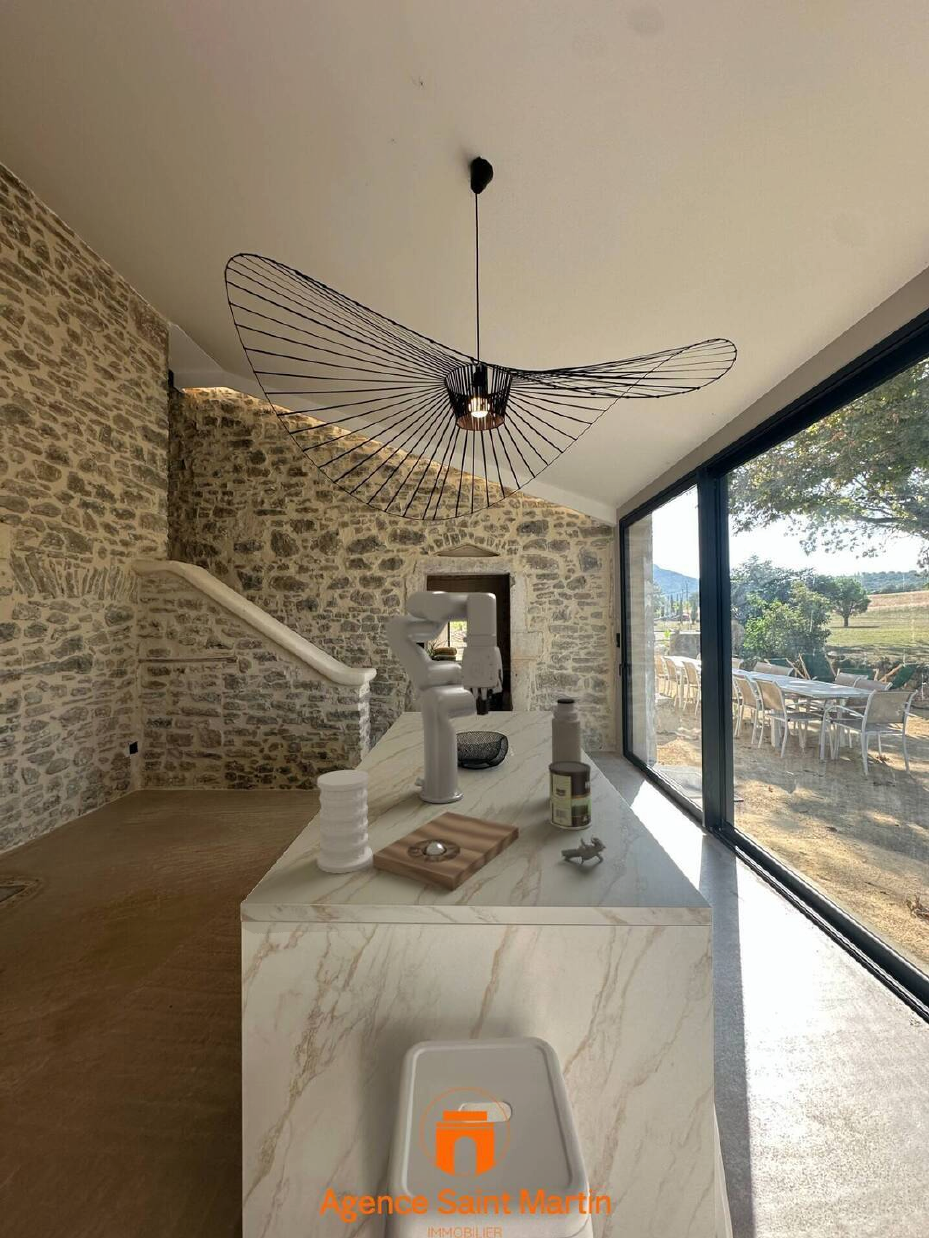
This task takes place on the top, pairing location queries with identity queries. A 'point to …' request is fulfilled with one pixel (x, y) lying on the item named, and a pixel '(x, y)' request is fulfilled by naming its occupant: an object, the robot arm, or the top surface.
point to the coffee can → (570, 795)
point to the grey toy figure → (586, 850)
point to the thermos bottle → (566, 732)
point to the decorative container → (344, 821)
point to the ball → (435, 849)
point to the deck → (446, 849)
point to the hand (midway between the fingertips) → (482, 714)
